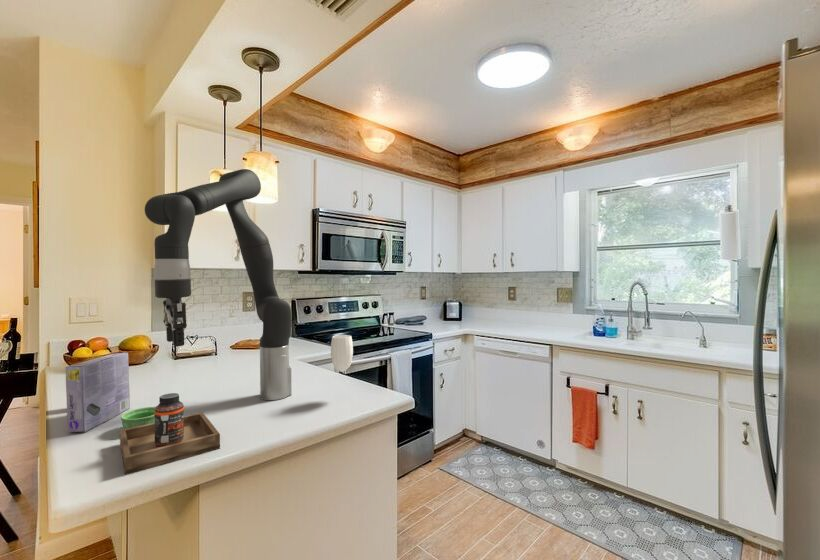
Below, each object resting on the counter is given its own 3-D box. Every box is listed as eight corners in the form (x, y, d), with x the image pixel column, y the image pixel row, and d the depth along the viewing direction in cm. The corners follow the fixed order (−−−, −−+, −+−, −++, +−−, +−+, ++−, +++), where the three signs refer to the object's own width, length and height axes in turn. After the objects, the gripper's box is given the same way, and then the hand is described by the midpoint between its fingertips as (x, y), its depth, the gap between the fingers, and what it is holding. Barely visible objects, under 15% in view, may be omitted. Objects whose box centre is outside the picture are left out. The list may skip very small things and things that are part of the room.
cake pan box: (116, 407, 116) (115, 350, 116) (133, 407, 117) (132, 350, 116) (64, 434, 97) (63, 366, 97) (85, 433, 98) (83, 366, 97)
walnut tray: (202, 424, 103) (202, 412, 103) (220, 448, 89) (219, 433, 89) (120, 444, 92) (119, 430, 91) (125, 474, 78) (124, 458, 78)
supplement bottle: (169, 448, 87) (169, 400, 87) (148, 446, 88) (147, 398, 88) (189, 437, 93) (189, 392, 93) (169, 435, 94) (168, 390, 94)
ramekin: (116, 438, 95) (115, 421, 95) (126, 425, 103) (126, 409, 103) (158, 432, 98) (158, 416, 98) (165, 420, 107) (164, 404, 107)
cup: (342, 393, 129) (342, 333, 129) (357, 397, 125) (357, 335, 125) (326, 399, 124) (325, 336, 123) (341, 404, 119) (341, 339, 119)
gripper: (197, 277, 89) (199, 345, 90) (184, 277, 100) (186, 337, 100) (159, 278, 84) (162, 350, 85) (150, 277, 95) (152, 341, 95)
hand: (175, 343), depth 92 cm, fingers open, 8 cm apart
